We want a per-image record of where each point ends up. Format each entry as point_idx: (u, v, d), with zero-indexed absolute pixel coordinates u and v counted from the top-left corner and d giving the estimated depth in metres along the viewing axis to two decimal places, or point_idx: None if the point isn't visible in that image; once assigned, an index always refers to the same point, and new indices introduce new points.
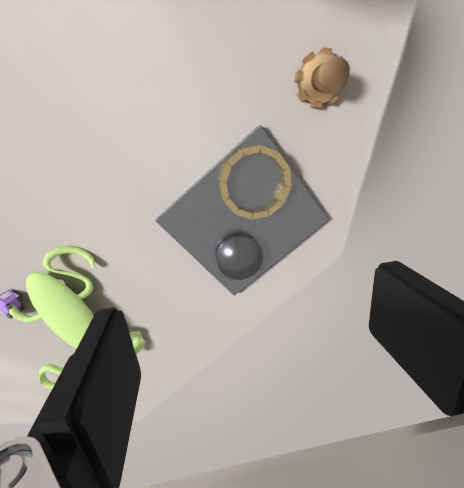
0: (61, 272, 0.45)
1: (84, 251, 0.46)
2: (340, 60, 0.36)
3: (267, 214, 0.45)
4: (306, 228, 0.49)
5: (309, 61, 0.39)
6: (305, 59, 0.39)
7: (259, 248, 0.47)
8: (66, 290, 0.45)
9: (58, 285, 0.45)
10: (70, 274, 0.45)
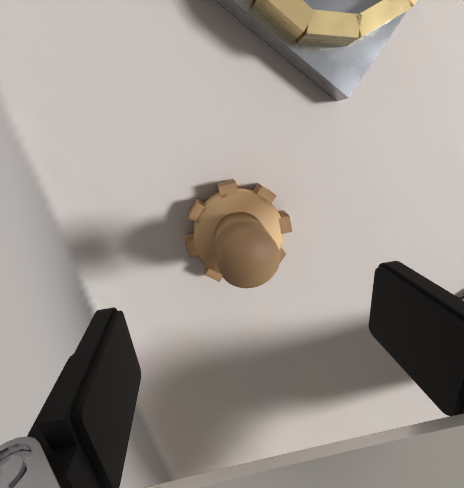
0: None
1: None
2: (250, 282, 0.16)
3: None
4: None
5: None
6: (282, 251, 0.21)
7: None
8: None
9: None
10: None
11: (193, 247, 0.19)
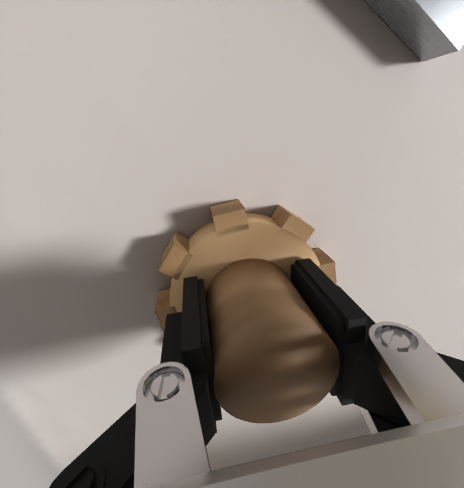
0: None
1: None
2: (278, 414, 0.08)
3: None
4: None
5: None
6: None
7: None
8: None
9: None
10: None
11: None
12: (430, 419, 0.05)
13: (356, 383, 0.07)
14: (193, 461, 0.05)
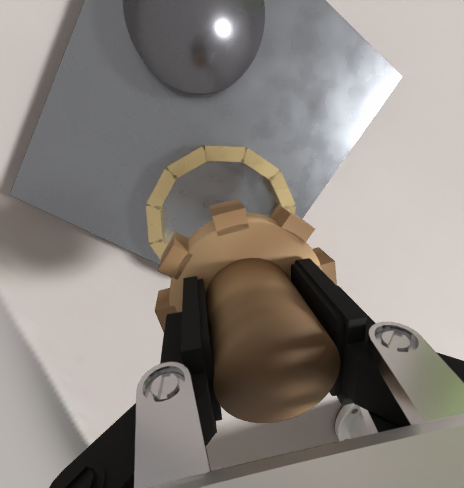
0: None
1: None
2: (278, 413, 0.08)
3: (173, 169, 0.19)
4: (50, 156, 0.19)
5: None
6: None
7: (155, 68, 0.16)
8: None
9: None
10: None
11: None
12: (430, 419, 0.05)
13: (356, 383, 0.07)
14: (193, 461, 0.05)
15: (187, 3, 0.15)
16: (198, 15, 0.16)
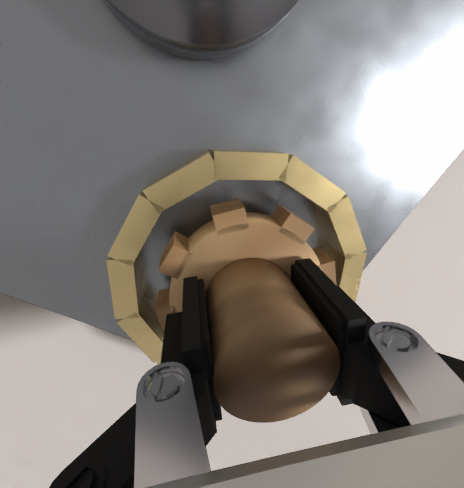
0: None
1: None
2: (278, 413, 0.08)
3: (154, 195, 0.10)
4: None
5: None
6: None
7: None
8: None
9: None
10: None
11: None
12: (430, 419, 0.05)
13: (356, 383, 0.07)
14: (193, 461, 0.05)
15: None
16: None
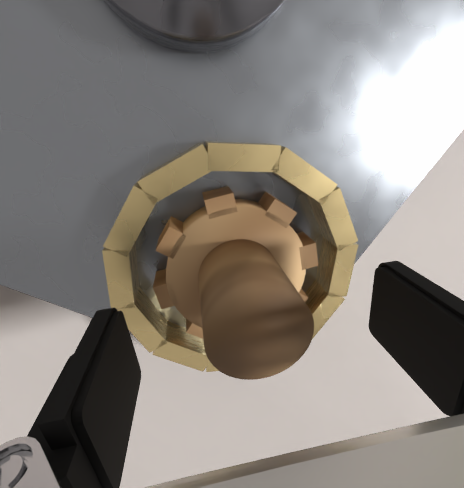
0: None
1: None
2: (261, 371, 0.09)
3: (149, 186, 0.10)
4: None
5: None
6: (302, 292, 0.14)
7: None
8: None
9: None
10: None
11: (167, 294, 0.12)
12: None
13: None
14: None
15: None
16: None
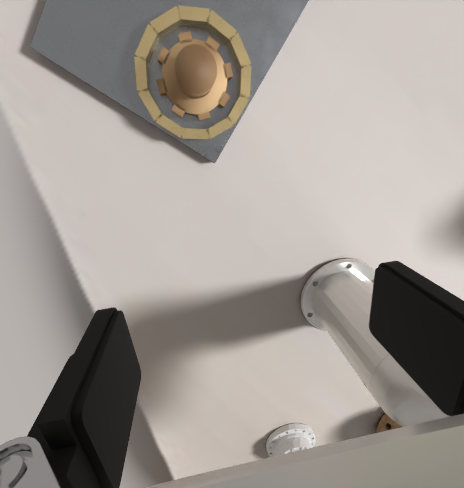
0: None
1: None
2: (198, 89, 0.24)
3: (154, 24, 0.25)
4: (61, 14, 0.25)
5: (223, 92, 0.28)
6: (228, 95, 0.28)
7: None
8: None
9: None
10: None
11: (162, 85, 0.27)
12: None
13: None
14: None
15: None
16: None
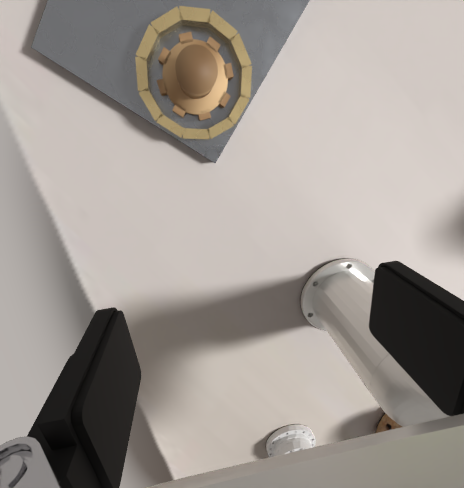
0: None
1: None
2: (198, 89, 0.24)
3: (155, 25, 0.25)
4: (62, 15, 0.25)
5: (224, 92, 0.28)
6: None
7: None
8: None
9: None
10: None
11: (163, 85, 0.27)
12: None
13: None
14: None
15: None
16: None
